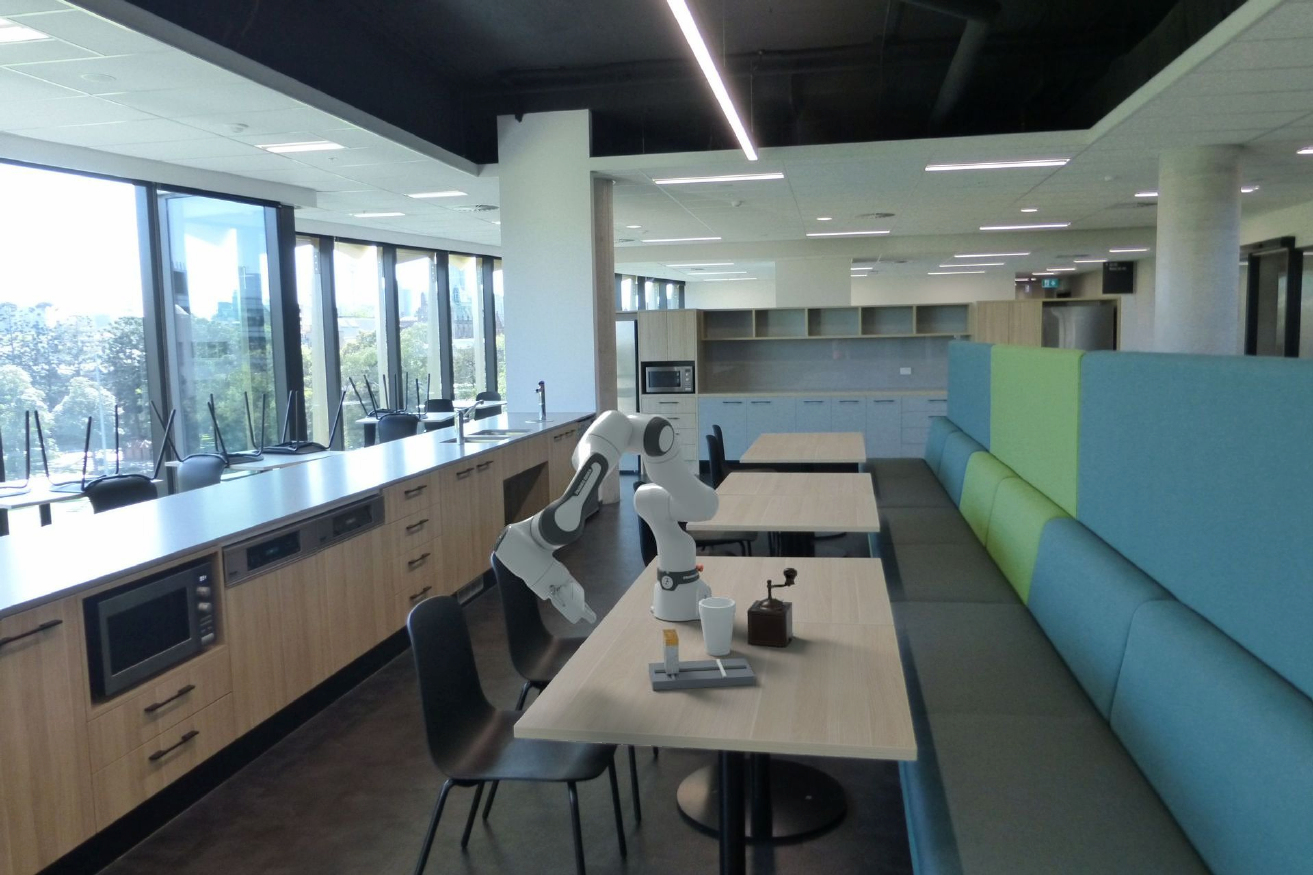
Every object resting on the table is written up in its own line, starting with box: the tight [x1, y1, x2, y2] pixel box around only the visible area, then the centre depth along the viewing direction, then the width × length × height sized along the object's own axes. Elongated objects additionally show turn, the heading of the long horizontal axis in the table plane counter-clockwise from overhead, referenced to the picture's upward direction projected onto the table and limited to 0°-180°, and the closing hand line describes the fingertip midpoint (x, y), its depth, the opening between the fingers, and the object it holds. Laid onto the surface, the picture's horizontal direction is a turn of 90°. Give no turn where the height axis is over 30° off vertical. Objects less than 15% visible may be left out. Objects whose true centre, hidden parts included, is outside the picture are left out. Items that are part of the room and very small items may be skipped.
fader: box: [662, 628, 680, 674], centre depth 215 cm, size 3×7×9 cm, turn 5°
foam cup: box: [699, 596, 737, 657], centre depth 233 cm, size 10×9×13 cm
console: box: [648, 657, 756, 691], centre depth 216 cm, size 24×12×2 cm, turn 95°
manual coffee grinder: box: [746, 567, 798, 649], centre depth 243 cm, size 16×11×18 cm
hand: (594, 619), depth 212 cm, fingers closed
